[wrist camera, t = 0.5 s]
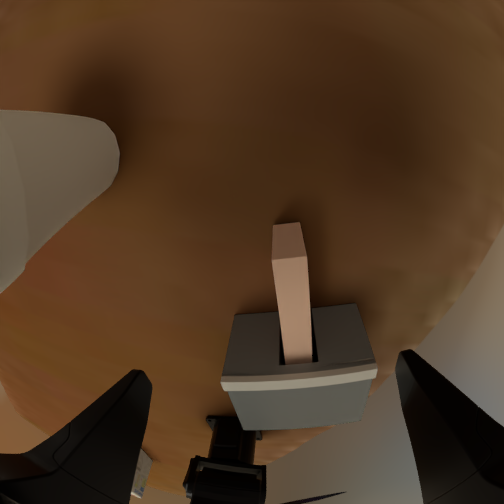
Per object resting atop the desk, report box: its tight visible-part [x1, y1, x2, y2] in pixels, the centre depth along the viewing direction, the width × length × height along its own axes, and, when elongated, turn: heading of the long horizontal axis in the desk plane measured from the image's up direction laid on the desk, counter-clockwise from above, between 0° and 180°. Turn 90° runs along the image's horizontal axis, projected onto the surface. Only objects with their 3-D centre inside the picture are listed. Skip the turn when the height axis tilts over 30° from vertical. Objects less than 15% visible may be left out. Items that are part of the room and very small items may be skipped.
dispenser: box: [221, 303, 378, 430], centre depth 20 cm, size 8×10×7 cm
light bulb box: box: [131, 449, 153, 498], centre depth 38 cm, size 11×7×11 cm, turn 2°
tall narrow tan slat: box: [272, 222, 312, 365], centre depth 18 cm, size 10×2×5 cm, turn 9°
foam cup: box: [0, 110, 120, 293], centre depth 12 cm, size 10×9×13 cm
